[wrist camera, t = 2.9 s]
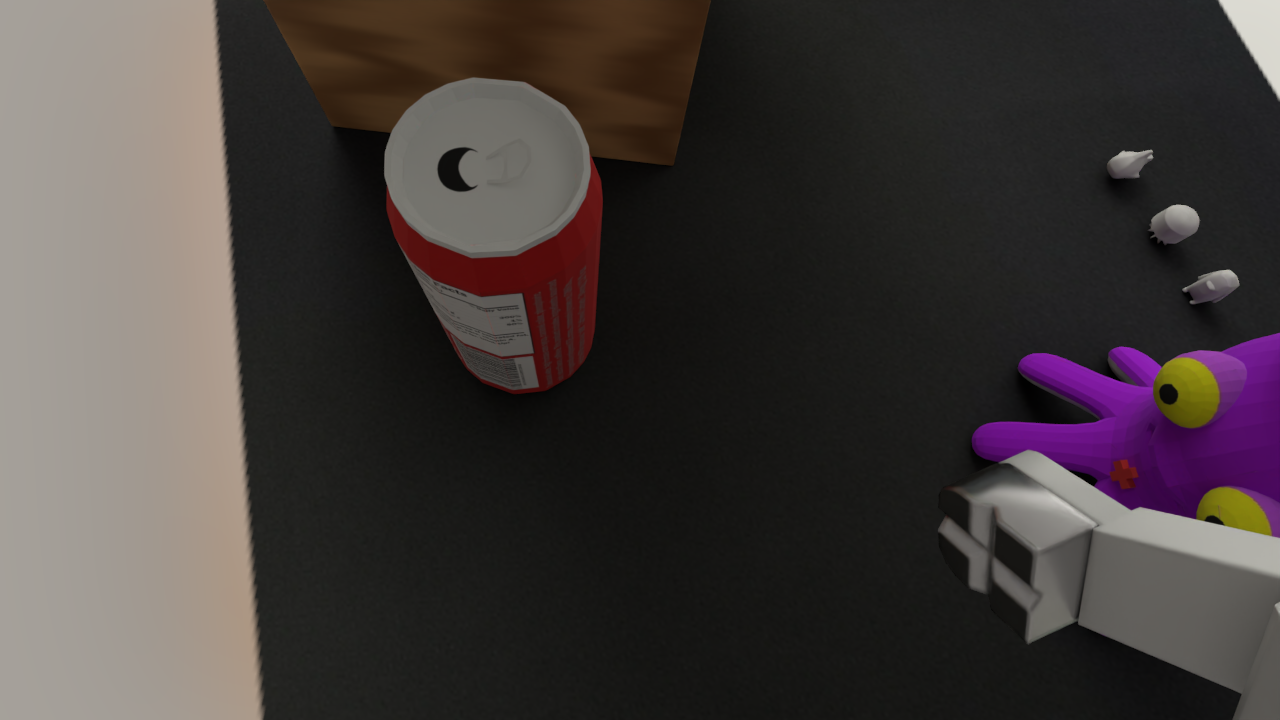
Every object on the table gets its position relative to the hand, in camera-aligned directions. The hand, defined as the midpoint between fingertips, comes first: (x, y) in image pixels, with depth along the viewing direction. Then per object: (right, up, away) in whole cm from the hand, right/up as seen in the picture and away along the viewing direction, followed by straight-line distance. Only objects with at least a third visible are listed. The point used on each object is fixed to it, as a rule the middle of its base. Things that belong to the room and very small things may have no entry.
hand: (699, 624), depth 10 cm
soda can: (-6, +5, +18) cm, 19 cm away
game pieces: (+23, +10, +22) cm, 33 cm away
